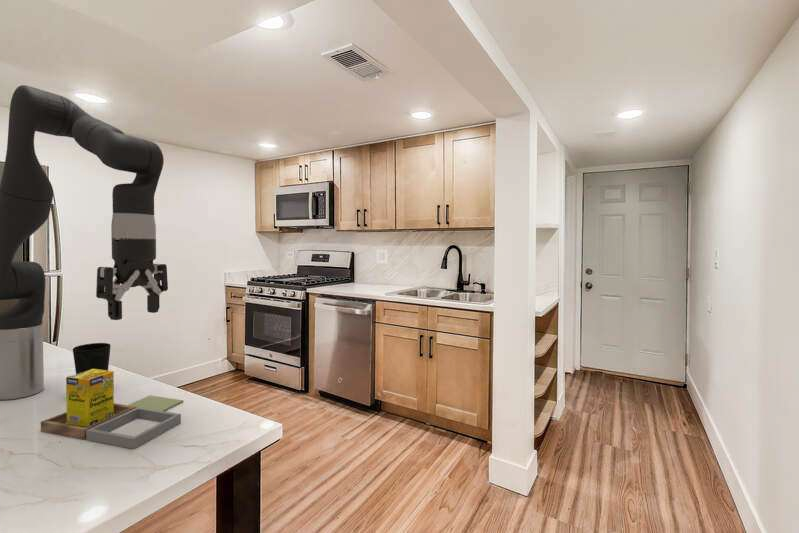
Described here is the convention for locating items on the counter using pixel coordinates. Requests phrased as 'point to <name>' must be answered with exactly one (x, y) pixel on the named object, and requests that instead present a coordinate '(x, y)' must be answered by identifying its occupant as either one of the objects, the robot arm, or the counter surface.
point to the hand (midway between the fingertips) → (135, 315)
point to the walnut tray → (58, 426)
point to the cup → (91, 357)
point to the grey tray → (132, 442)
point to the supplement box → (89, 397)
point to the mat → (156, 403)
